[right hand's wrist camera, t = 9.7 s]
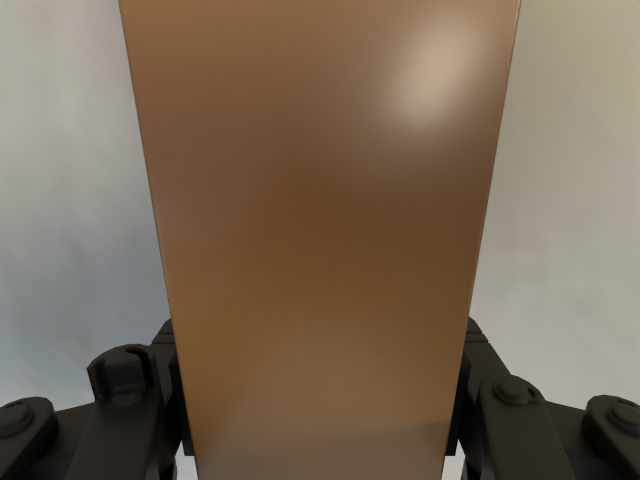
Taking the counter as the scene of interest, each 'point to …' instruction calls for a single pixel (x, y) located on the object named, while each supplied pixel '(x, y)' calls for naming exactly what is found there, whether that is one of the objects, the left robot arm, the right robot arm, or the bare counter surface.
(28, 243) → the counter surface
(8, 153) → the counter surface
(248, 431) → the beam
